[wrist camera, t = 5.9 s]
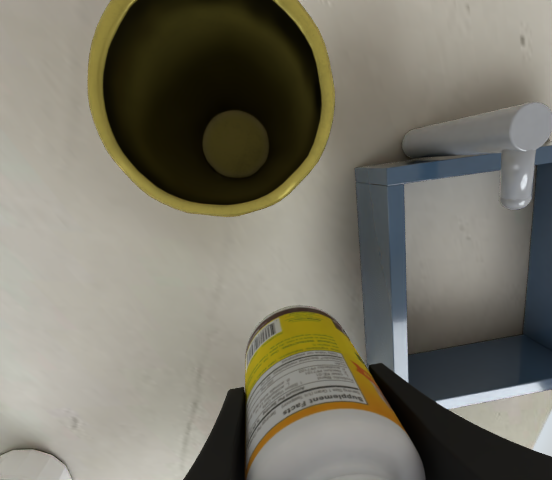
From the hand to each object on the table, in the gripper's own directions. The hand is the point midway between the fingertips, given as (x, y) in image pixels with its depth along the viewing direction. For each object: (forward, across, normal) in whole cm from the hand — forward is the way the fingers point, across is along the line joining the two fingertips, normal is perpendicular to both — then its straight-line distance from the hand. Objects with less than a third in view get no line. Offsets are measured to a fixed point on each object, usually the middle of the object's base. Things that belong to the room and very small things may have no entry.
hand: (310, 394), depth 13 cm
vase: (+10, +2, -11) cm, 16 cm away
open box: (+10, -14, -2) cm, 17 cm away
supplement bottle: (+4, 0, 0) cm, 4 cm away
